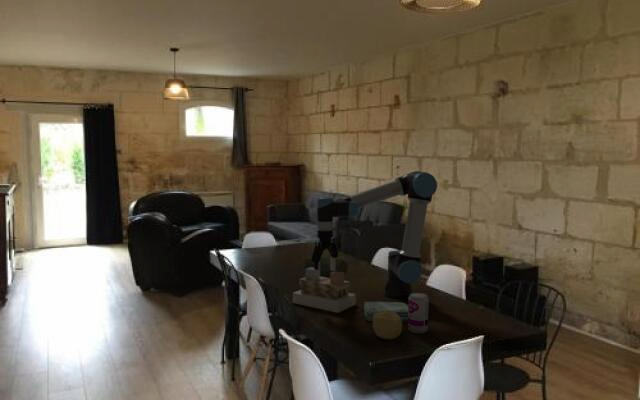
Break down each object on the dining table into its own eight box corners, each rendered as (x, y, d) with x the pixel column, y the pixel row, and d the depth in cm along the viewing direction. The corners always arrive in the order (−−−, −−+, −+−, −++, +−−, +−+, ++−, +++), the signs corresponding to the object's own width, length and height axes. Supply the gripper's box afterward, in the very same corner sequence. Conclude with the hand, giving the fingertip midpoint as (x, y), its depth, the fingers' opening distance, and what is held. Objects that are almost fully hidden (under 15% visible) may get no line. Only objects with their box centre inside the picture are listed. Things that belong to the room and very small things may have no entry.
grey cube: (319, 278, 253) (319, 268, 252) (313, 279, 249) (313, 270, 248) (311, 276, 255) (311, 267, 255) (305, 278, 251) (305, 268, 251)
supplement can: (416, 335, 208) (417, 298, 207) (403, 328, 215) (404, 293, 214) (431, 332, 212) (433, 296, 211) (419, 325, 219) (420, 291, 218)
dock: (355, 304, 249) (355, 294, 248) (338, 312, 235) (338, 301, 235) (311, 295, 263) (311, 285, 263) (292, 302, 250) (292, 292, 249)
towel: (362, 309, 242) (362, 299, 242) (408, 310, 241) (408, 300, 241) (364, 322, 224) (364, 310, 224) (413, 323, 223) (413, 312, 223)
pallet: (349, 294, 247) (349, 281, 247) (337, 300, 238) (337, 286, 237) (312, 287, 259) (312, 274, 259) (299, 292, 250) (299, 279, 250)
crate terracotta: (344, 282, 245) (344, 272, 244) (338, 284, 241) (338, 274, 240) (335, 280, 247) (335, 271, 247) (330, 283, 243) (330, 273, 243)
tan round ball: (369, 339, 202) (370, 312, 201) (377, 329, 214) (377, 304, 213) (398, 343, 198) (398, 316, 197) (404, 333, 210) (405, 308, 209)
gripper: (332, 225, 258) (332, 267, 260) (303, 232, 238) (303, 277, 240) (345, 227, 254) (345, 269, 256) (316, 233, 233) (317, 279, 235)
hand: (325, 273), depth 248 cm, fingers open, 13 cm apart
